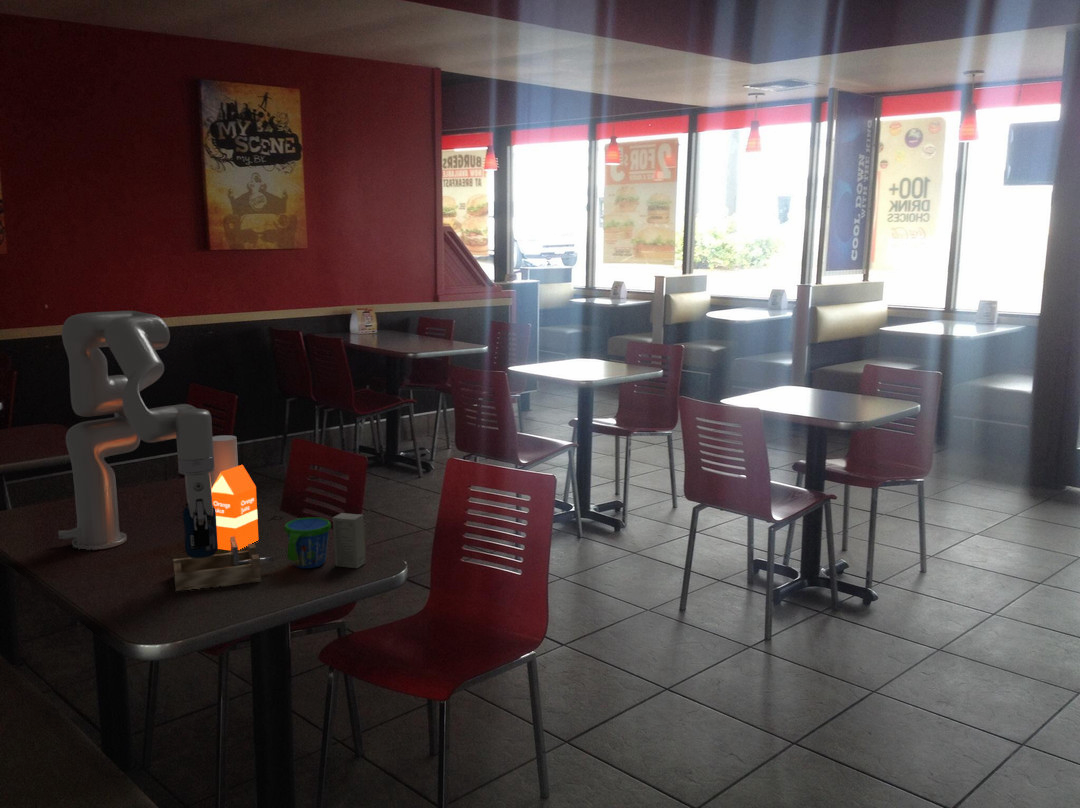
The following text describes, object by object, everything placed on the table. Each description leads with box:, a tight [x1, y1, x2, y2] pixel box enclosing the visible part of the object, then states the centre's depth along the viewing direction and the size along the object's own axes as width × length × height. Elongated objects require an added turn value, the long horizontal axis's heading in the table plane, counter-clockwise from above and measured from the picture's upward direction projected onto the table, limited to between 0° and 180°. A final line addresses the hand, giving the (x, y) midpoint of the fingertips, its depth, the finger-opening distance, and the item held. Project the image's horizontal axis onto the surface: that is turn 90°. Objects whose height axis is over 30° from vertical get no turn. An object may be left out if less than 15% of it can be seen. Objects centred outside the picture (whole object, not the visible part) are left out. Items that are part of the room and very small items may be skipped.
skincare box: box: [332, 512, 367, 569], centre depth 220 cm, size 6×4×12 cm
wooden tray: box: [172, 543, 262, 592], centre depth 211 cm, size 18×12×6 cm, turn 113°
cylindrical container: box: [210, 434, 239, 488], centre depth 246 cm, size 7×7×25 cm
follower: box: [230, 536, 274, 566], centre depth 214 cm, size 9×8×7 cm
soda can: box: [182, 502, 219, 559], centre depth 209 cm, size 7×7×12 cm
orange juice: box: [212, 464, 259, 552], centre depth 234 cm, size 8×9×20 cm
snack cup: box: [283, 516, 332, 569], centre depth 221 cm, size 16×10×10 cm
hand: (201, 540), depth 209 cm, fingers closed on soda can, 6 cm apart
